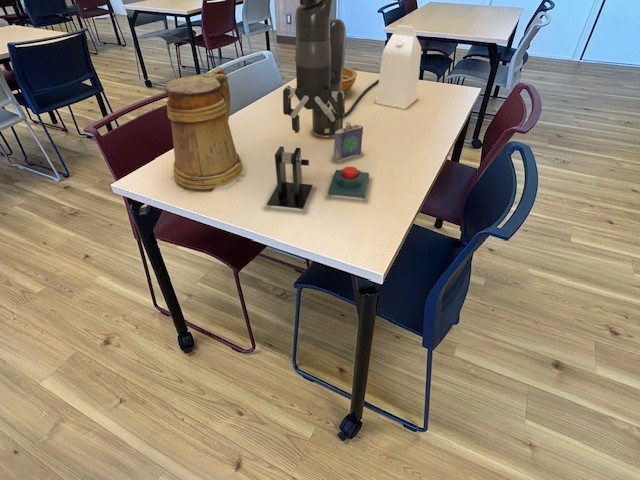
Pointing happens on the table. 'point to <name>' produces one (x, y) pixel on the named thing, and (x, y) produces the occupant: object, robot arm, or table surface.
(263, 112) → the table surface
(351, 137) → the flask
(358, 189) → the button box
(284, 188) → the bracket
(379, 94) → the milk
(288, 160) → the lever
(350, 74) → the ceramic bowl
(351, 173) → the button
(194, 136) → the tankard
